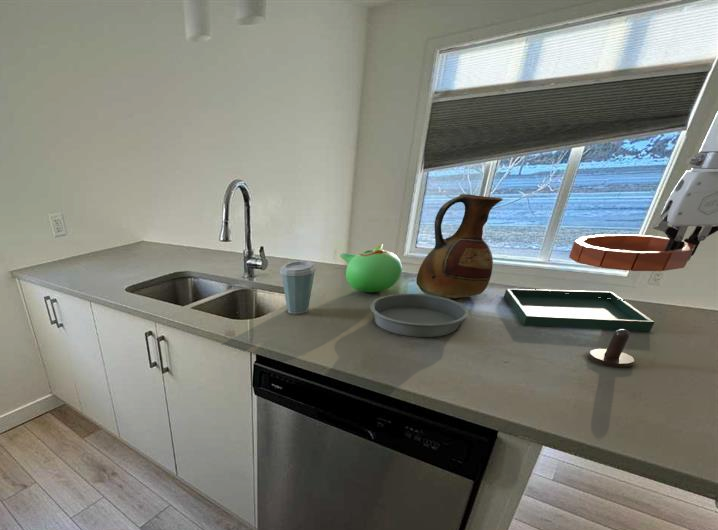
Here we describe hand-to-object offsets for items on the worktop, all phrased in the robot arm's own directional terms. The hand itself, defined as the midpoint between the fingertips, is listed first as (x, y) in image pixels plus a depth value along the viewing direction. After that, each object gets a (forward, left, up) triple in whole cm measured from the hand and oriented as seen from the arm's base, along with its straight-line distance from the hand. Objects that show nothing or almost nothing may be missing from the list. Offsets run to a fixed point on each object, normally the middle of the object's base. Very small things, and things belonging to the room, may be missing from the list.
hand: (675, 258), depth 86 cm
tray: (+8, -18, -19) cm, 27 cm away
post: (+9, +12, -19) cm, 24 cm away
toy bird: (+60, -32, -19) cm, 70 cm away
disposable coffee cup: (+81, -8, -19) cm, 84 cm away
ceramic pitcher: (+36, -30, -19) cm, 50 cm away
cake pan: (+47, -4, -19) cm, 51 cm away
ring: (+9, 0, 0) cm, 9 cm away
